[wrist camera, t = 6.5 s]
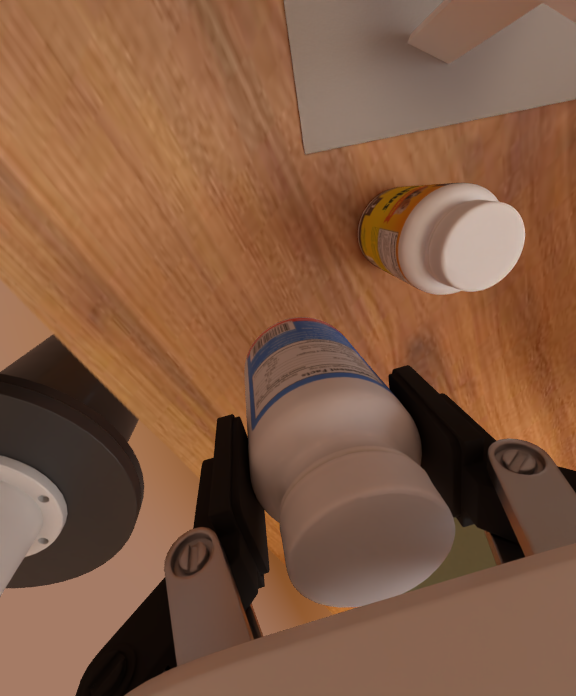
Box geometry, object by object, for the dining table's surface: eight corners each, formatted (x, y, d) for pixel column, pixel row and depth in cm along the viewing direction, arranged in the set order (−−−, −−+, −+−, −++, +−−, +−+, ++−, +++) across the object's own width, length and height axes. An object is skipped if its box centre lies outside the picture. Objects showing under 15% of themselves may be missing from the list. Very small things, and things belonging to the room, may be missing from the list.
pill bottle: (338, 411, 18) (439, 620, 9) (239, 408, 17) (242, 639, 8) (361, 317, 15) (524, 467, 7) (249, 306, 14) (268, 467, 6)
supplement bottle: (427, 178, 22) (554, 165, 13) (428, 257, 25) (536, 293, 16) (350, 197, 22) (423, 197, 13) (358, 274, 25) (426, 321, 16)
